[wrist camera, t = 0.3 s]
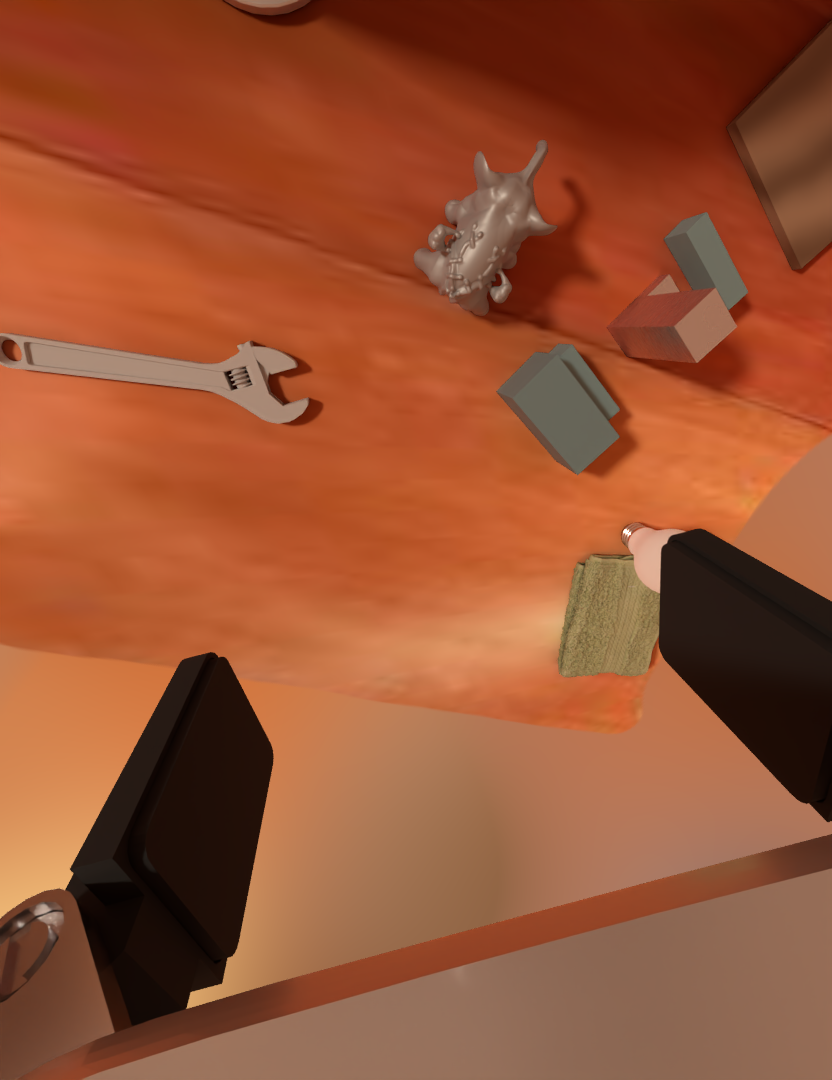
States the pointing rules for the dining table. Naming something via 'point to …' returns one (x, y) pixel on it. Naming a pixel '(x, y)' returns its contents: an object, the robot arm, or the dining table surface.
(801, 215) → the walnut board
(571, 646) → the washcloth
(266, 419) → the adjustable wrench
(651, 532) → the light bulb
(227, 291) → the dining table surface
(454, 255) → the grey monster figurine
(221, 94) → the dining table surface
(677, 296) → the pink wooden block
